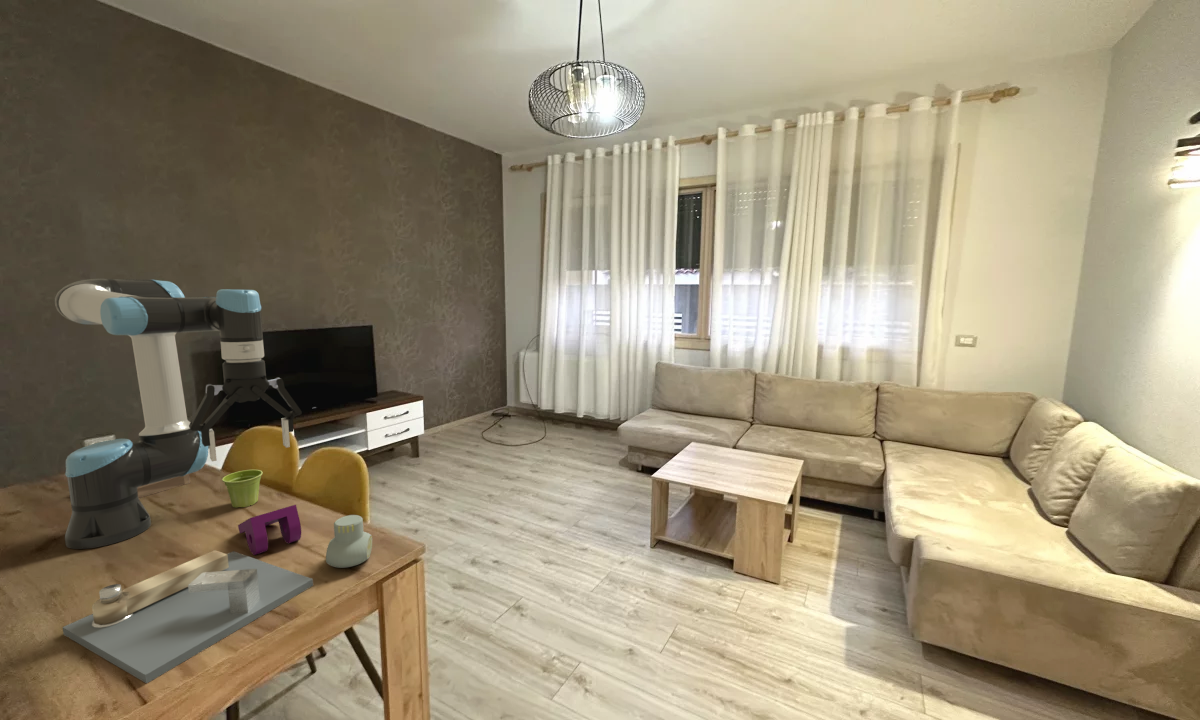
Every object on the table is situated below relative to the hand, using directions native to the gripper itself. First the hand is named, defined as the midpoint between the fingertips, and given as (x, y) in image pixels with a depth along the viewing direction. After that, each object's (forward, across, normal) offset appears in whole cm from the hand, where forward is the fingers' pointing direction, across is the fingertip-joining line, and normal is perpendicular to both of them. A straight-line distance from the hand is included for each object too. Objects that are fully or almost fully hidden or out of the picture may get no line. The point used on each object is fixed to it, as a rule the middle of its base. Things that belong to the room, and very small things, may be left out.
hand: (251, 452), depth 107 cm
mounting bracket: (+26, +3, +9) cm, 28 cm away
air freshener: (+26, +14, -16) cm, 34 cm away
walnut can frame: (+26, -18, +74) cm, 81 cm away
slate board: (+25, -13, -13) cm, 31 cm away
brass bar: (+24, -17, -6) cm, 29 cm away
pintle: (+24, -24, -8) cm, 35 cm away
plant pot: (+26, +4, +37) cm, 46 cm away
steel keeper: (+24, -9, -20) cm, 32 cm away
